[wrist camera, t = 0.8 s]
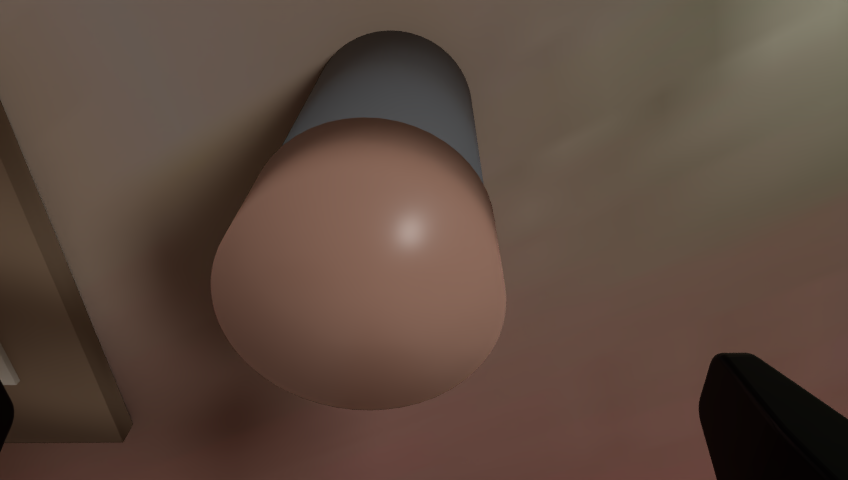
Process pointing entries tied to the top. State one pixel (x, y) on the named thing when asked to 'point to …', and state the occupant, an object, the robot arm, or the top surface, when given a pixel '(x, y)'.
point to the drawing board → (47, 325)
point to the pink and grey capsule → (368, 237)
